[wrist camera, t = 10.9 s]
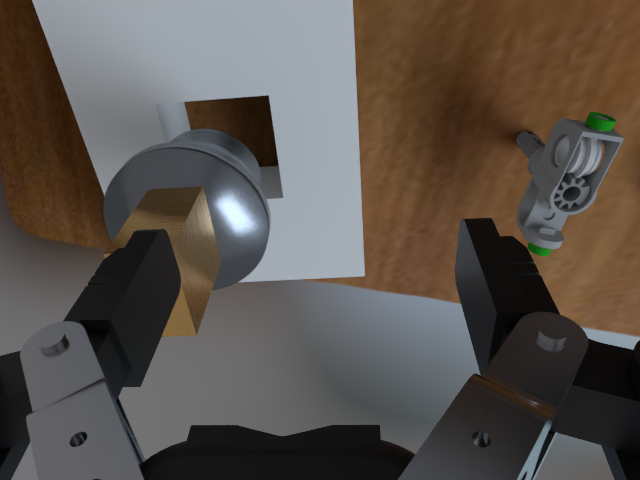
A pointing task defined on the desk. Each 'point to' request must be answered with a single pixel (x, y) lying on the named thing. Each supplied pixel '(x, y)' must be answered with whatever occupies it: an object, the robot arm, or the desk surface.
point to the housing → (220, 83)
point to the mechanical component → (563, 176)
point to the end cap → (194, 214)
